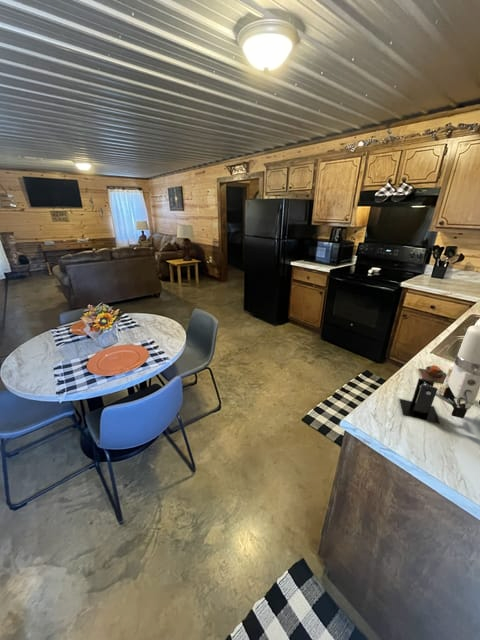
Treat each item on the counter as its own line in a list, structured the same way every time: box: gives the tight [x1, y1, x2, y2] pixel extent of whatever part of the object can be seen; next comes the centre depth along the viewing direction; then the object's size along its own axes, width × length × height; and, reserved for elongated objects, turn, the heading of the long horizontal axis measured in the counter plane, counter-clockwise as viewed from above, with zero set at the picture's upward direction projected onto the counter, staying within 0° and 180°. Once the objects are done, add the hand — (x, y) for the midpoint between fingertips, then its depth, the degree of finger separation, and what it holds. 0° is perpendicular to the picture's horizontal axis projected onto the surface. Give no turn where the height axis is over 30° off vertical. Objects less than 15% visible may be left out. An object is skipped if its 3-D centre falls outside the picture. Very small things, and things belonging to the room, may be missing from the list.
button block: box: [418, 365, 447, 384], centre depth 113 cm, size 10×9×4 cm
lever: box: [420, 382, 457, 410], centre depth 89 cm, size 12×5×2 cm, turn 68°
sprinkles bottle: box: [440, 362, 455, 394], centre depth 101 cm, size 5×5×13 cm
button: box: [430, 364, 441, 373], centre depth 113 cm, size 3×3×2 cm
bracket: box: [399, 378, 441, 425], centre depth 92 cm, size 11×9×13 cm
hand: (452, 407), depth 89 cm, fingers open, 9 cm apart
